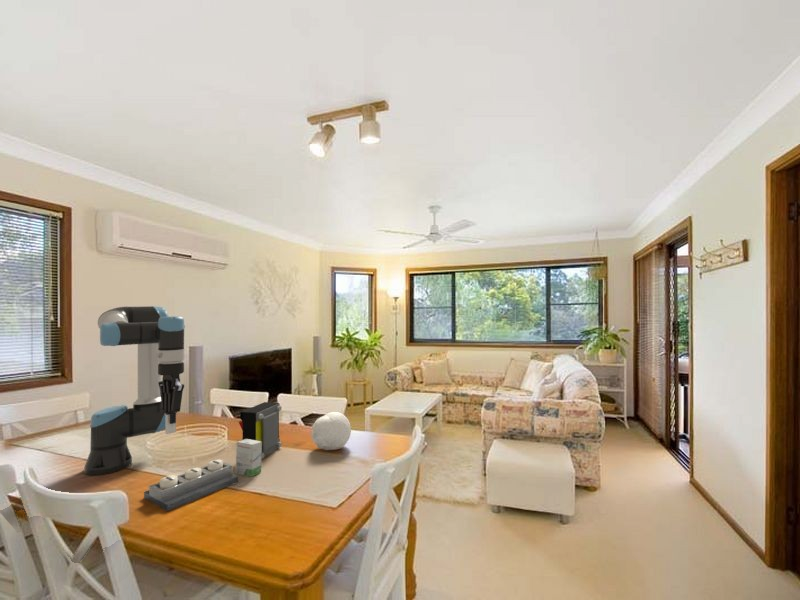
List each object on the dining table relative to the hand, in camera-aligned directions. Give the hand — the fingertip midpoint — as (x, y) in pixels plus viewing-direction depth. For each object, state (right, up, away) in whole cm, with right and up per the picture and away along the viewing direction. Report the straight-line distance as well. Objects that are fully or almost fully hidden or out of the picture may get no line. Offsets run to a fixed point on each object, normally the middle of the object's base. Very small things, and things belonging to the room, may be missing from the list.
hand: (170, 432), depth 127 cm
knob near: (+1, -18, -2) cm, 19 cm away
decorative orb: (+47, -22, +41) cm, 66 cm away
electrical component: (+17, -22, +37) cm, 47 cm away
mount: (+5, -21, +4) cm, 22 cm away
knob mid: (+5, -19, +4) cm, 20 cm away
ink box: (+19, -22, +18) cm, 34 cm away
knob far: (+10, -19, +11) cm, 24 cm away
